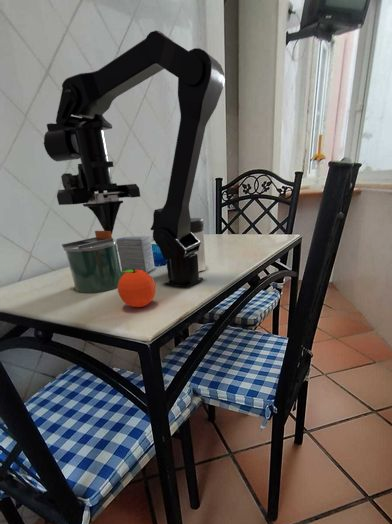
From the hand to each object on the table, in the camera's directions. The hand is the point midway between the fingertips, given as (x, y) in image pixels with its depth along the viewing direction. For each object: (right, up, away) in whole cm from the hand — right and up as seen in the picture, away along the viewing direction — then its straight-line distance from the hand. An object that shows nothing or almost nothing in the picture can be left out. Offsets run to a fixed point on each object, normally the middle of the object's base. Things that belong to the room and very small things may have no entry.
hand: (109, 234), depth 73 cm
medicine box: (+5, -6, +11) cm, 13 cm away
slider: (-2, -2, -2) cm, 4 cm away
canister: (-3, -12, +1) cm, 12 cm away
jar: (+19, -6, +8) cm, 22 cm away
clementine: (+9, -19, -13) cm, 25 cm away
